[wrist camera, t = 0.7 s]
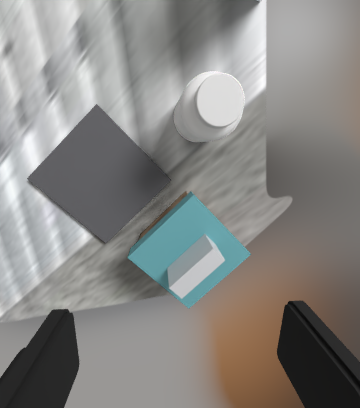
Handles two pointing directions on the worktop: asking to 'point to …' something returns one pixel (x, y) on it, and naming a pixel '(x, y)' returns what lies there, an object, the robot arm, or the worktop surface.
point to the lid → (188, 251)
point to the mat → (99, 175)
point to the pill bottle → (209, 107)
